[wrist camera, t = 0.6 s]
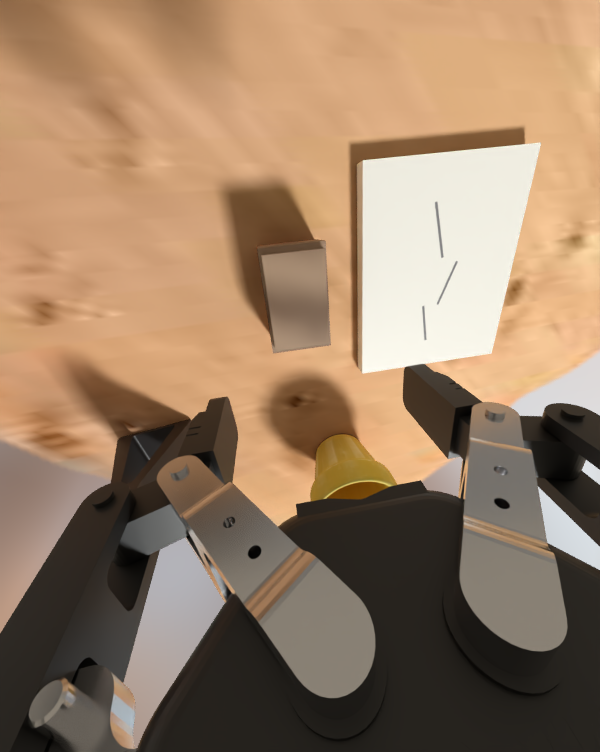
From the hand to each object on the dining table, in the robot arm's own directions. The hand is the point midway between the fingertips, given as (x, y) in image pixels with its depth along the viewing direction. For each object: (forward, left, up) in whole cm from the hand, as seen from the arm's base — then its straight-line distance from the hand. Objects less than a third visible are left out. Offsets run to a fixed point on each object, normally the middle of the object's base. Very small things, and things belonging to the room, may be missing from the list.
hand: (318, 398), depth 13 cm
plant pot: (+22, +5, -19) cm, 29 cm away
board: (-1, +16, -19) cm, 25 cm away
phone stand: (+16, -17, -19) cm, 30 cm away
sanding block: (-1, +1, -19) cm, 19 cm away
